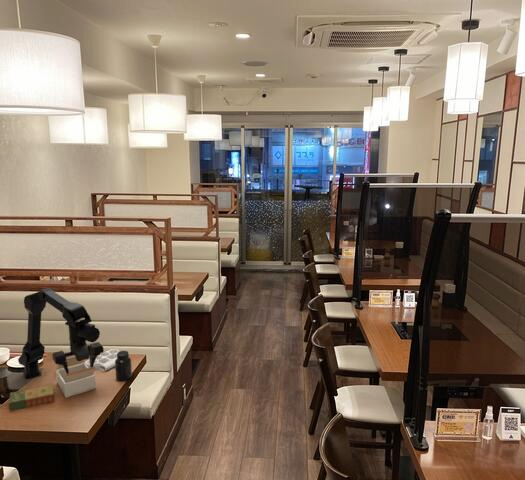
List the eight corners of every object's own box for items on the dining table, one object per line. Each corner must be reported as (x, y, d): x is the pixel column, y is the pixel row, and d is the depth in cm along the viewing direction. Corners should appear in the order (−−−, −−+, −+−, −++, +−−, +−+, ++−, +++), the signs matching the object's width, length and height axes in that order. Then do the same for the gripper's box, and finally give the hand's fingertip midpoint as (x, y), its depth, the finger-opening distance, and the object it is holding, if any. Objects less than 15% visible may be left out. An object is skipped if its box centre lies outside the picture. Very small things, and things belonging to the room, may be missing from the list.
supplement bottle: (112, 380, 206) (110, 354, 204) (122, 373, 212) (121, 348, 210) (125, 383, 204) (123, 357, 201) (135, 376, 210) (133, 351, 207)
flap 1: (84, 354, 205) (84, 353, 205) (57, 361, 199) (57, 360, 199) (84, 362, 208) (83, 361, 208) (57, 369, 201) (57, 368, 202)
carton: (54, 402, 189) (53, 393, 188) (9, 412, 182) (8, 402, 181) (54, 392, 196) (53, 383, 195) (10, 401, 190) (9, 391, 189)
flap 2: (66, 373, 188) (66, 375, 188) (94, 366, 194) (94, 367, 194) (65, 381, 191) (65, 382, 191) (92, 373, 198) (93, 374, 197)
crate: (57, 383, 203) (56, 370, 202) (85, 375, 210) (84, 363, 209) (65, 397, 192) (64, 384, 191) (95, 388, 199) (94, 375, 198)
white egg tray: (100, 375, 211) (79, 367, 218) (130, 360, 226) (109, 353, 233) (100, 368, 210) (78, 360, 218) (130, 353, 225) (109, 346, 233)
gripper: (57, 349, 178) (60, 387, 181) (106, 337, 188) (109, 373, 192) (50, 339, 186) (53, 375, 190) (98, 328, 197) (100, 363, 200)
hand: (79, 372), depth 193 cm, fingers open, 9 cm apart
